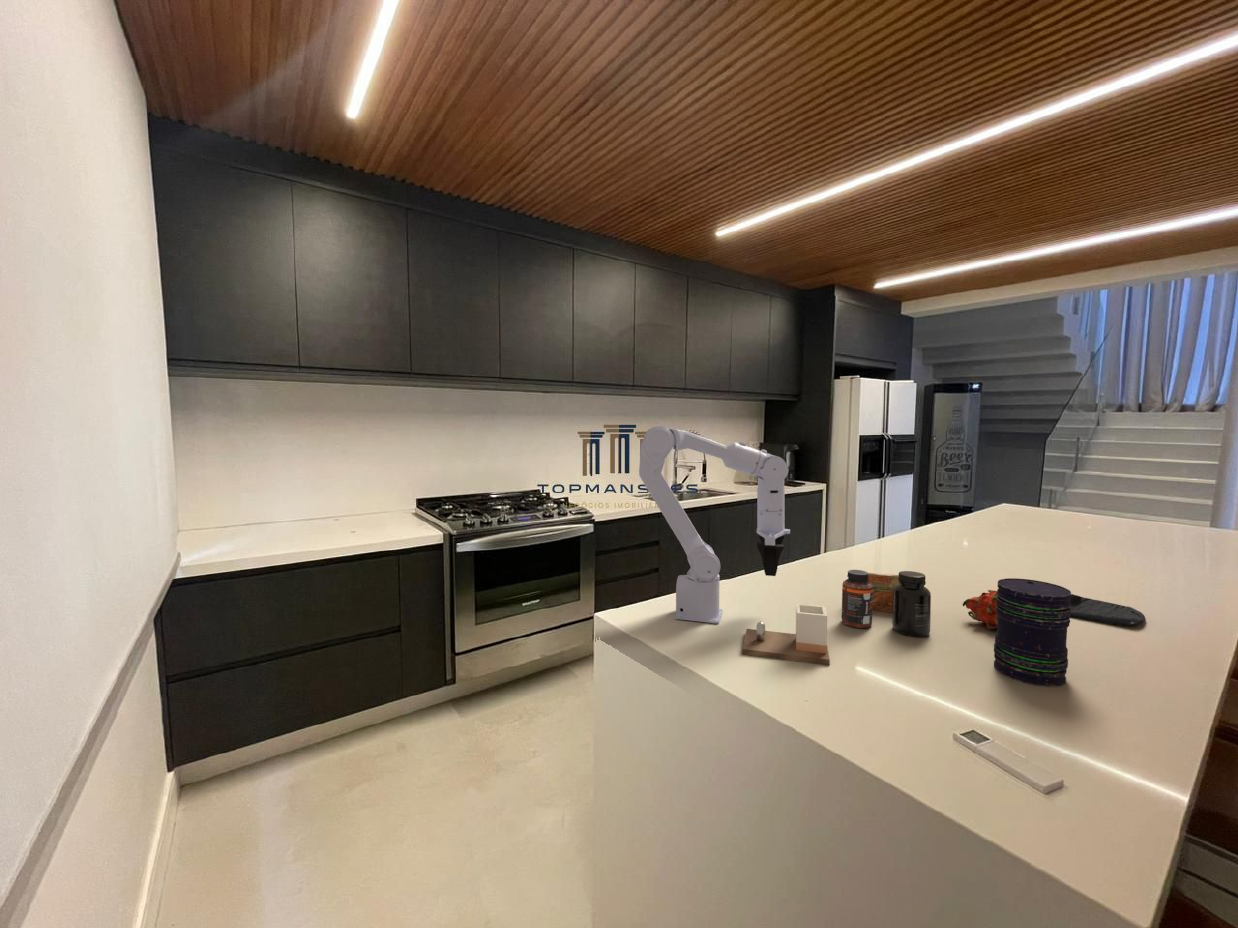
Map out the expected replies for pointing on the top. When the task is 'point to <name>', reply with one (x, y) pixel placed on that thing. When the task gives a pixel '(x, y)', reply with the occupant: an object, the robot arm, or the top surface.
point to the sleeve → (811, 628)
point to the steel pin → (760, 632)
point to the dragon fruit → (984, 608)
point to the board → (780, 648)
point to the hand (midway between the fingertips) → (771, 570)
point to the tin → (883, 591)
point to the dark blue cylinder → (1032, 631)
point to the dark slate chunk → (1104, 611)
